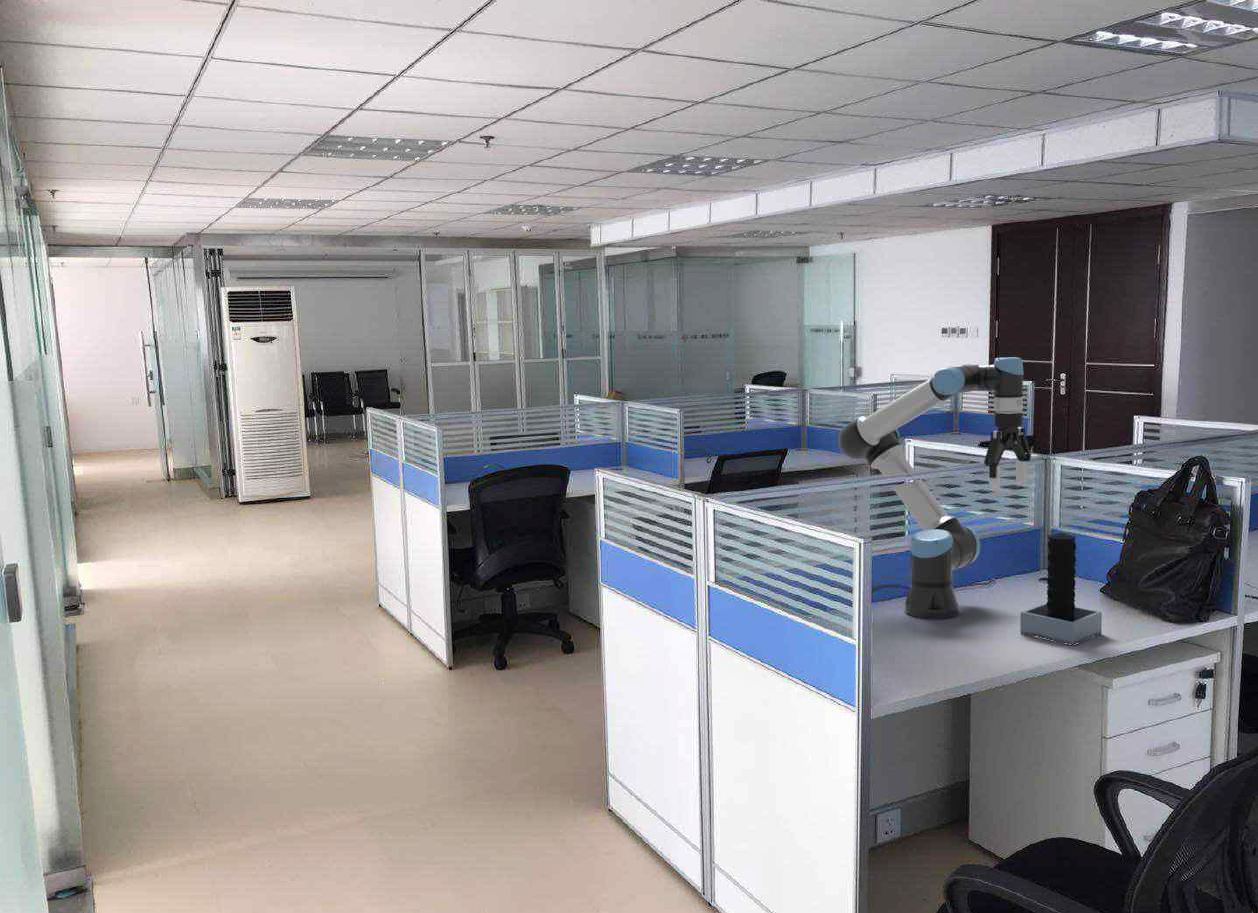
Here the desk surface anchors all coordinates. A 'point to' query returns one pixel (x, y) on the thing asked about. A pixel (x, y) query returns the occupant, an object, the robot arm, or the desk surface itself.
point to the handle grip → (1061, 576)
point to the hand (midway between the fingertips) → (1007, 486)
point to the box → (1061, 625)
